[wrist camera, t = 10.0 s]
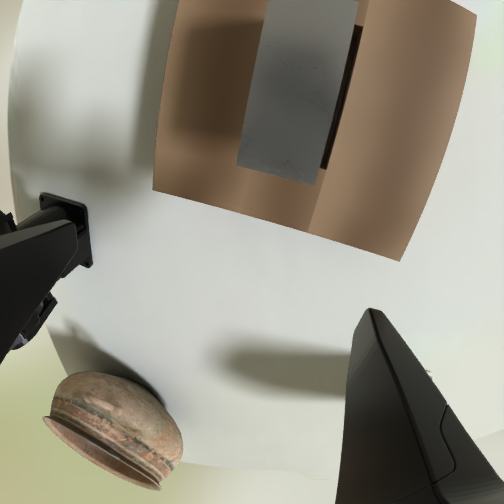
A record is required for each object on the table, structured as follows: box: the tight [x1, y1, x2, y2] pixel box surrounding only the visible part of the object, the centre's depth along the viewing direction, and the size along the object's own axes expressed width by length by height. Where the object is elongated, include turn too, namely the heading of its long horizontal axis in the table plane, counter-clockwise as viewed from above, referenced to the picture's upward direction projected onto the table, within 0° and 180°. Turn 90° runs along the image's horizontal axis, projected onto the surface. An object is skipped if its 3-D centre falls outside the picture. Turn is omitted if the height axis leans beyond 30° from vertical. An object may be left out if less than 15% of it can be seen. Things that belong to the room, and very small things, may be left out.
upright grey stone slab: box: [236, 0, 359, 186], centre depth 11 cm, size 2×6×8 cm, turn 170°
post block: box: [152, 0, 477, 262], centre depth 13 cm, size 14×14×4 cm
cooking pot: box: [43, 371, 183, 491], centre depth 33 cm, size 25×19×12 cm
